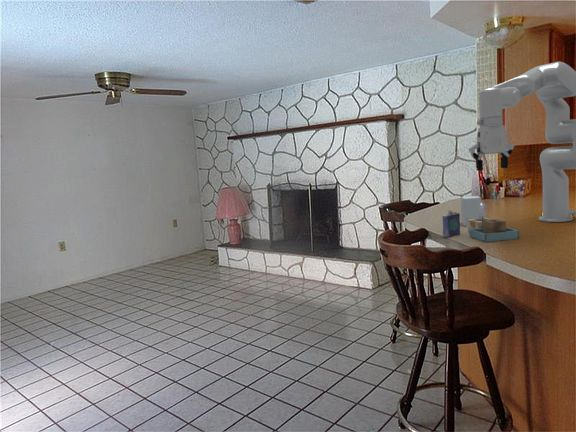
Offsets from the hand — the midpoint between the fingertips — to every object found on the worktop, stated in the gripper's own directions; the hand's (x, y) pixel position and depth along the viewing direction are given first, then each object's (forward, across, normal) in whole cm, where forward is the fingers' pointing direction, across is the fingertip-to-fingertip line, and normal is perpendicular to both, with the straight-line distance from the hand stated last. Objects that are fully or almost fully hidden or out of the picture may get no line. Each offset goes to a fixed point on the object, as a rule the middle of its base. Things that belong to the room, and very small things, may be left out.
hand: (492, 169), depth 157 cm
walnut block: (+26, 0, 0) cm, 26 cm away
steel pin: (+26, +2, +12) cm, 29 cm away
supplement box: (+27, +8, +29) cm, 40 cm away
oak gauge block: (+26, +2, +12) cm, 29 cm away
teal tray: (+26, 0, 0) cm, 26 cm away
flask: (+27, -11, +12) cm, 31 cm away
